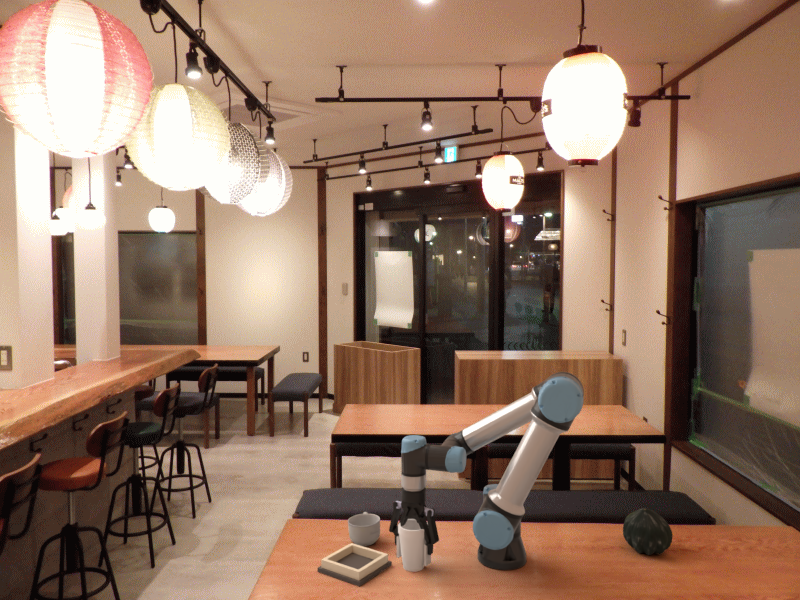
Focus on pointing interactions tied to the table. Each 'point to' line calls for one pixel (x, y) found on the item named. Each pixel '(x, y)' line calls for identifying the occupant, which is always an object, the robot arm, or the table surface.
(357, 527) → the teacup
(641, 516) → the squash
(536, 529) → the table surface
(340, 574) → the tray
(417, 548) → the foam cup
